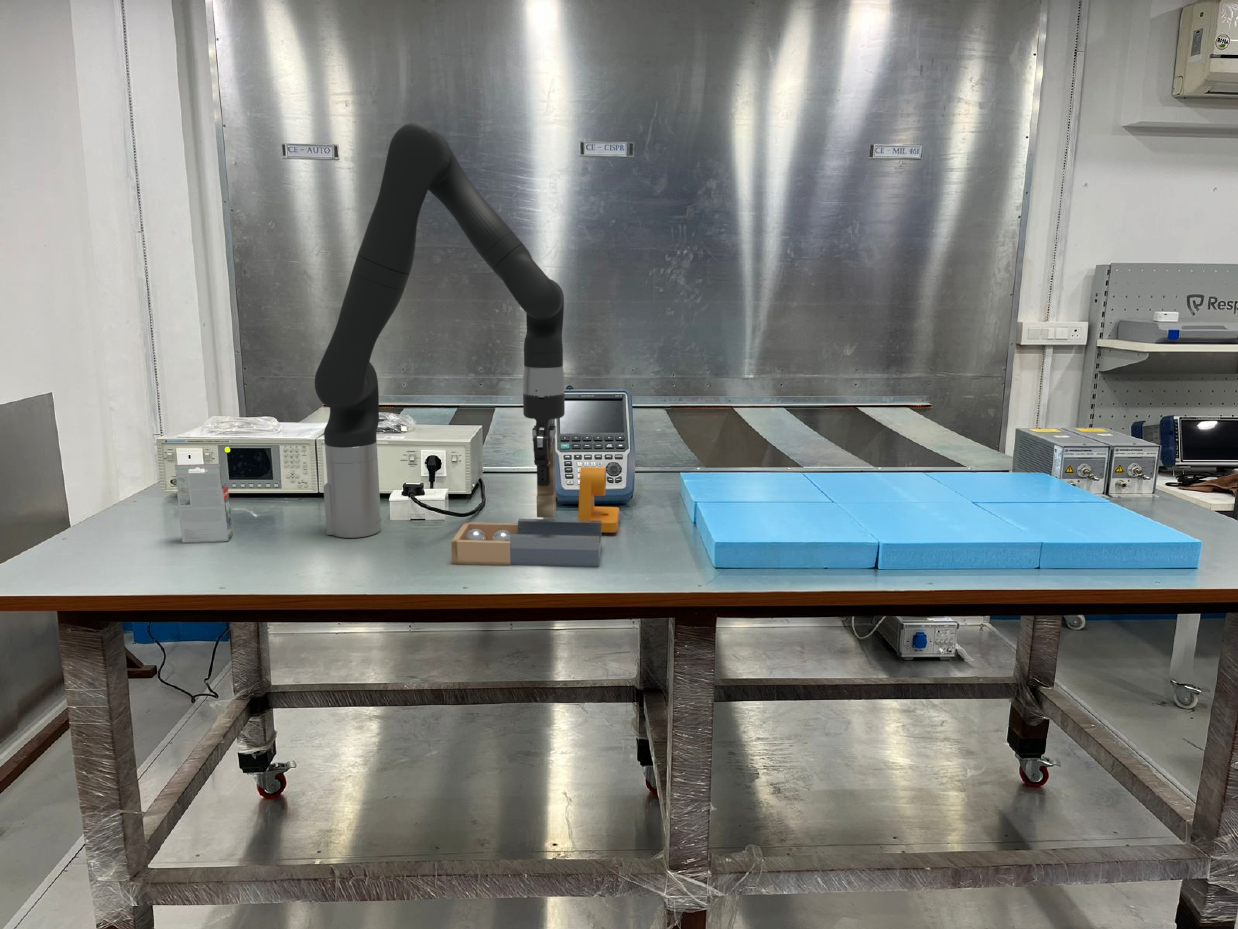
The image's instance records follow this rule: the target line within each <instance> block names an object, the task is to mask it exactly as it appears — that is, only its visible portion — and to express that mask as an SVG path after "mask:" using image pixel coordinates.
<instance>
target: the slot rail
mask: <svg viewBox="0 0 1238 929" xmlns="http://www.w3.org/2000/svg"><path fill="white" fill-rule="evenodd" d="M517 523H518V533H517V534H511V536H510V552H511V565H510V566H540V567H541V566H542V567H543V566H545V567H546V566H548V567H550V566H551V567H579V568H580V567H585V568H587V567H588V568H590V567H591V568H599V566H600V559H601V552H602V540H603V539H602V538H603V537H602V535H603V534H602V533H603V532H602V521H600V520H578V519H554V518H549V519H546V518H544V519H543V518H519V519H518V520H517Z"/></svg>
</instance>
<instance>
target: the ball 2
mask: <svg viewBox="0 0 1238 929" xmlns="http://www.w3.org/2000/svg"><path fill="white" fill-rule="evenodd" d="M511 534H512V533H510V532H509V531H507V530H500V531H498V532H496V533H495V534H494V535H493V537H492V541H510V536H511Z"/></svg>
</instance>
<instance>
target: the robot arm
mask: <svg viewBox="0 0 1238 929" xmlns="http://www.w3.org/2000/svg"><path fill="white" fill-rule="evenodd" d="M428 192H430V193H431V194H432V195H434V197H435V198H436V199H438V201H440V203H441V204H442V205H444V207H445V208H446V209H447V210H448V212H449V213H450V214H451V216H452V217H453V218H454V219H455V221H456V222H457V224H458V225H459V227H460V228H461V230H462V231H463V233H464V234H465V237H466V238H467V239H468V242H470V244H471V245H472V246H473V248H474V249H475V251H476V252H477V253H478V254H479V256H480V257H481V258H482V259H483V260H484V262H486V264H487V265H488V266H489V267H490V269H491V270H492V271H493V272H494V273H495V274H496V275H497V276H498V278H500V279H501V281H502V282H503V283H504V285H505V286H506V288H507V289H508V291H509V293H511V295H512V297H513V298H514V299H515V301H516V302H517V303H518V305H519V306H520V307H521V308H522V310H523V311H524V312H525V314H526V315H525V316H526V317H525V318H526V333H525V334H526V335H525V337H524V341H523V342H524V343H523V375H522V403H523V405H522V408H523V410H522V411H523V416H524V417H525V418H528V419H531V420H532V419H533V420H535V421H536V422H535V425H533V427H532V428H531V429H532V430H531V431H532V432H531V434H532V435H531V436H532V441H533V442H532V447H533V450H532V452H533V455H534V456H533V457H534V460H533V463H534V466H536V485H537V484H538V485H539V486H548V485H549V483H550V472H549V466H550V453H552V451H553V439H555V440H556V433H557V426H556V425H555V423H553V420H557V419H561V418H563V417H564V416H565V413H566V412H565V407H566V406H565V404H566V403H565V402H566V401H565V373H564V348H563V346H564V345H563V336H562V335H563V326H564V312H565V310H564V309H565V297H564V291H563V289H562V288H561V286H560V285H559V284H558V283H557V282H556V281H555V280H553V279H551V278H549V276H547V275H546V273H545V272H544V271H543V269H542V268H540V267H539V265H538V264H537V262H535V261H534V259H533V258H532V255H531V253H530V251H529V249H528V248H527V247H526V246H525V244H524V243H523V242H522V241H521V239H520V238H518V236H517V235H516V234H515V232H514V231H513V230H512V229H511V228H510V227H509V225H508V224H507V223H506V222H505V221H504V220H503V218H502V217H501V216H500V215H499V214H498V213H497V211H495V210H494V208H493V207H492V206H491V205H490V204H489V203H488V201H487V200H486V199H485V198H484V197H483V196H482V194H480V192H479V191H478V189H477V188H476V187H475V185H474V184H473V183H472V180H470V179H469V177H468V176H467V173H466V172H465V171H464V169H463V167H462V166H461V164H460V163H459V161H458V159H457V157H456V156H455V154H454V152H453V150H452V148H451V147H450V146H449V142H448V140H447V139H446V137H444V136H443V134H441V133H440V132H438V131H437V130H435V129H433V128H432V126H431V127H430V126H429V125H426V124H425V123H421V122H409V123H407V124H404V125H403V126H401V127H400V128H399V129H398V130H397V131H396V132H395V133H394V134H393V136H392V137H391V140H390V143H389V147H388V150H387V156H386V160H385V165H384V169H383V174H382V179H381V183H380V188H379V193H378V196H377V200H376V202H375V206H374V207H373V210H372V213H371V215H370V218H369V221H368V224H367V227H366V229H365V232H364V235H363V239H362V242H361V244H360V248H359V249H358V252H357V255H356V258H355V261H354V264H353V267H352V271H351V273H350V278H349V282H348V285H347V289H346V291H345V294H344V298H343V300H342V305H341V308H340V312H339V314H338V315H339V316H338V319H337V322H336V326H335V329H334V331H333V334H332V336H331V339H330V340H329V343H328V345H327V348H326V350H325V352H324V354H323V355H322V359H321V361H320V362H319V365H318V367H317V369H316V372H315V375H314V389H315V393H316V395H317V397H318V399H319V401H320V402H321V403H322V404H323V405H324V406H326V407H327V408H329V417H328V421H327V424H326V425H325V428H324V430H323V437H324V438H323V439H324V453H325V454H324V455H325V464H326V468H325V469H326V483H325V484H324V485H323V501H324V514H325V528H326V535H328V536H329V535H330V536H334V537H337V538H344V539H345V538H347V539H349V538H350V539H352V538H353V539H354V538H355V539H356V538H365V537H369V536H372V535H375V534H377V533H379V532H380V531H381V530H382V517H381V497H380V496H381V495H380V479H379V477H380V476H379V461H378V460H379V459H378V458H379V457H378V442H377V432H378V427H379V423H380V403H379V402H380V400H379V398H380V396H379V395H380V393H379V381H378V376H377V375H378V374H377V371H376V368H375V367H374V365H373V364H372V362H370V360H371V358H372V354H373V350H374V347H375V345H376V342H377V340H378V338H379V337H380V334H381V333H382V331H383V330H384V328H385V326H386V325H387V324H388V322H389V320H390V319H391V317H392V315H393V314H394V312H395V311H396V308H397V307H398V305H399V303H400V301H401V299H402V298H403V297H402V296H403V294H404V292H405V289H406V286H407V283H408V279H409V278H410V273H411V271H412V267H413V262H414V259H415V252H416V251H415V250H416V241H417V228H418V220H419V216H420V213H421V208H422V206H423V204H424V201H425V198H426V196H427V194H428ZM548 446H549V448H548ZM539 455H545V458H539Z"/></svg>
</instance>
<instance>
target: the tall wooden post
mask: <svg viewBox="0 0 1238 929" xmlns="http://www.w3.org/2000/svg"><path fill="white" fill-rule="evenodd" d="M548 448H549V446H548ZM539 458H545V455H539ZM549 472H550V483H549V485H548V486H539V485H538V484H537V483H536V492H537V493H536V518H540V519H543V518H544V519H546V518H549V519H554V516H555V513H556V510H557V488H556V438H555V439H553V451H552V453H550V466H549Z"/></svg>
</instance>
